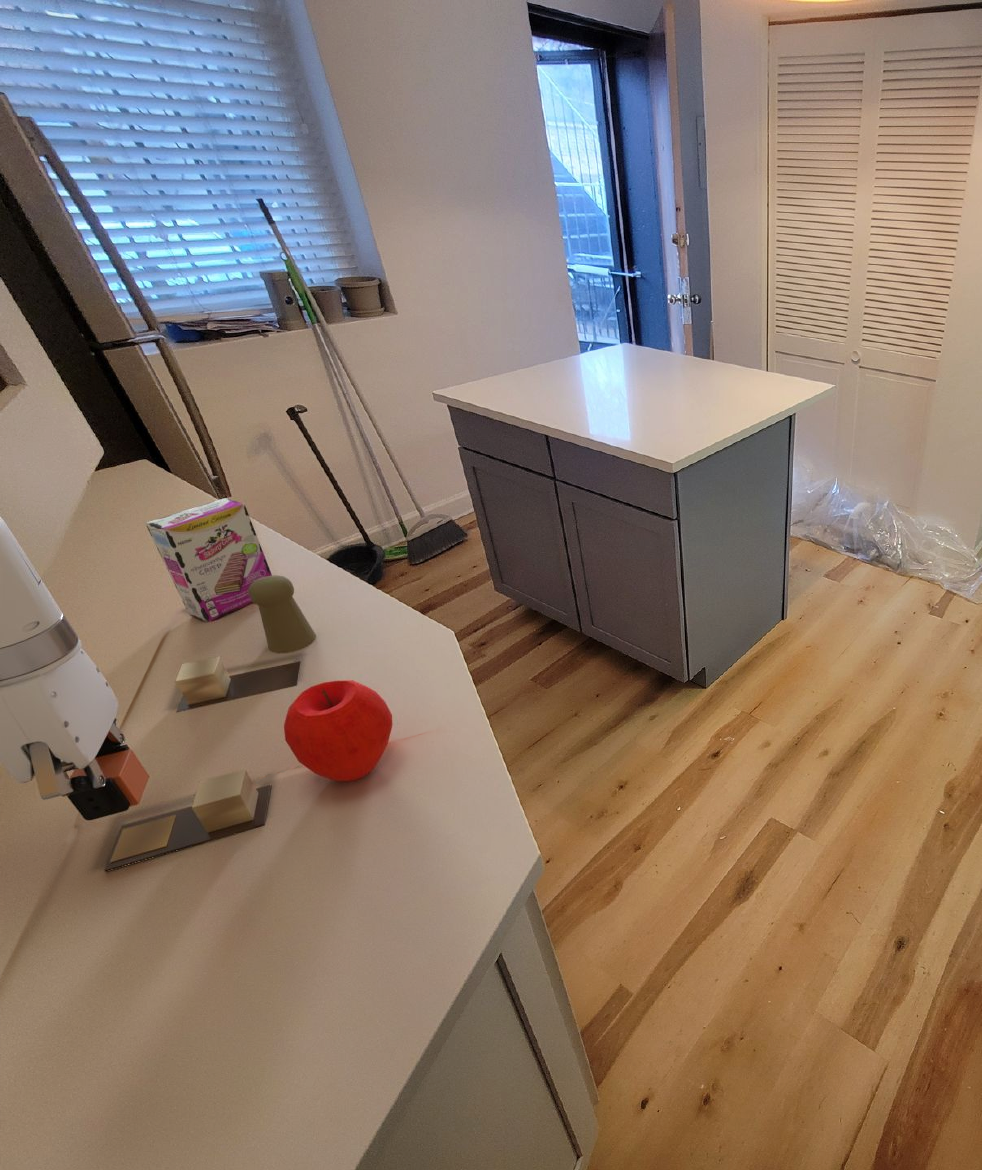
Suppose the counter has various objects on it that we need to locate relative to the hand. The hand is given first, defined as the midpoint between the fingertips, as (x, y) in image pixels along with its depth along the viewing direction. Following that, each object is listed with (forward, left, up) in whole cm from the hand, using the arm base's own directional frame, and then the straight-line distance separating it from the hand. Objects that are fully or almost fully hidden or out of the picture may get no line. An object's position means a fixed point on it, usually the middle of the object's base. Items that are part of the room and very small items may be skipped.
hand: (116, 794), depth 63 cm
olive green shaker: (+10, +34, -7) cm, 36 cm away
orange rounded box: (0, 0, 0) cm, 0 cm away
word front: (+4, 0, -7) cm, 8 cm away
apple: (+19, +2, -7) cm, 20 cm away
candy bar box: (+1, +50, -7) cm, 51 cm away
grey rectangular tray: (+5, +25, -7) cm, 26 cm away
